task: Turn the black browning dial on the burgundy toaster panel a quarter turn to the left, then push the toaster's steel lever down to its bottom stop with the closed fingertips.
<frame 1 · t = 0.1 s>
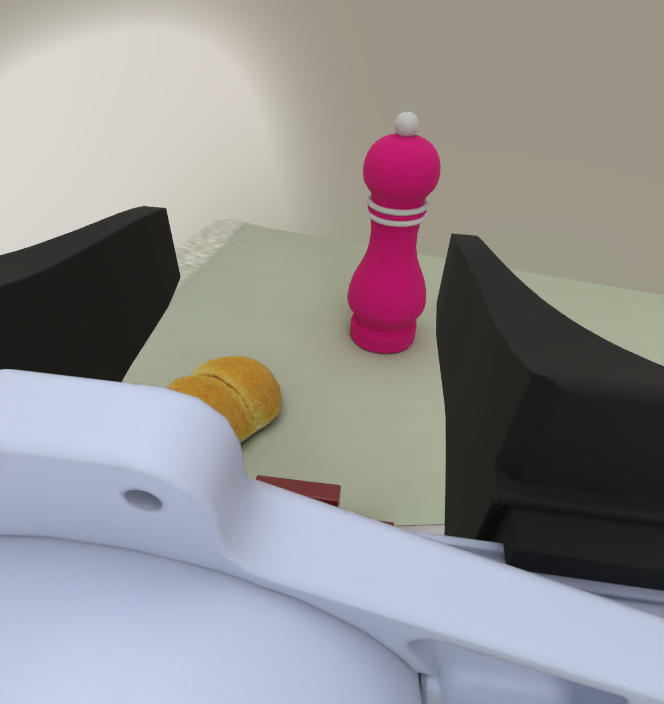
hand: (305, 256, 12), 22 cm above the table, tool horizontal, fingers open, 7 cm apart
bread roll: (223, 416, 38), on the table
pepper mill: (381, 336, 47), on the table
red lever base: (292, 592, 27), on the table
toaster lever: (371, 541, 23), point 6 cm above the table, hinge at 15.0°
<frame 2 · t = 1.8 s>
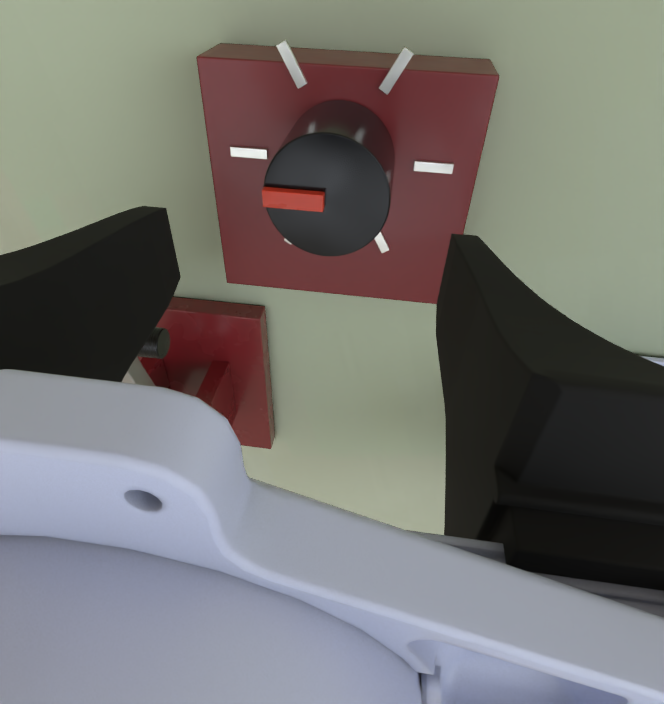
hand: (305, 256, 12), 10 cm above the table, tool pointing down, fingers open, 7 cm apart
toaster panel: (346, 173, 21), on the table
browning dial: (332, 179, 16), point 5 cm above the table, hinge at 0.0°
red lever base: (199, 370, 30), on the table
toaster lever: (143, 396, 23), point 6 cm above the table, hinge at 15.0°
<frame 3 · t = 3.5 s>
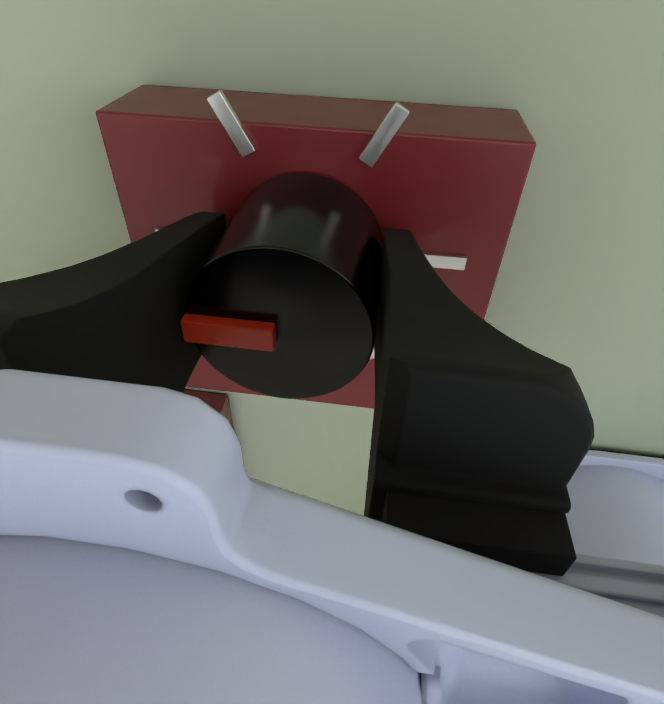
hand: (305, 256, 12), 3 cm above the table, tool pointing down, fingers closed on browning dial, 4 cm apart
toaster panel: (321, 248, 16), on the table
browning dial: (293, 288, 11), point 5 cm above the table, hinge at -0.1°, touching gripper
red lever base: (155, 457, 25), on the table
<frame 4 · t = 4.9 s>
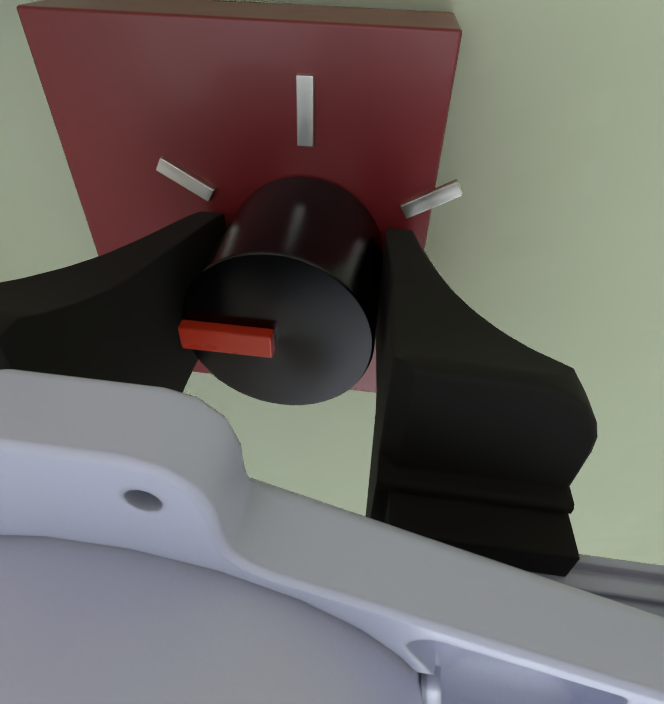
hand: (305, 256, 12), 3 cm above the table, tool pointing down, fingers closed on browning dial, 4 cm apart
toaster panel: (272, 204, 15), on the table
browning dial: (292, 294, 11), point 5 cm above the table, hinge at 89.9°, touching gripper
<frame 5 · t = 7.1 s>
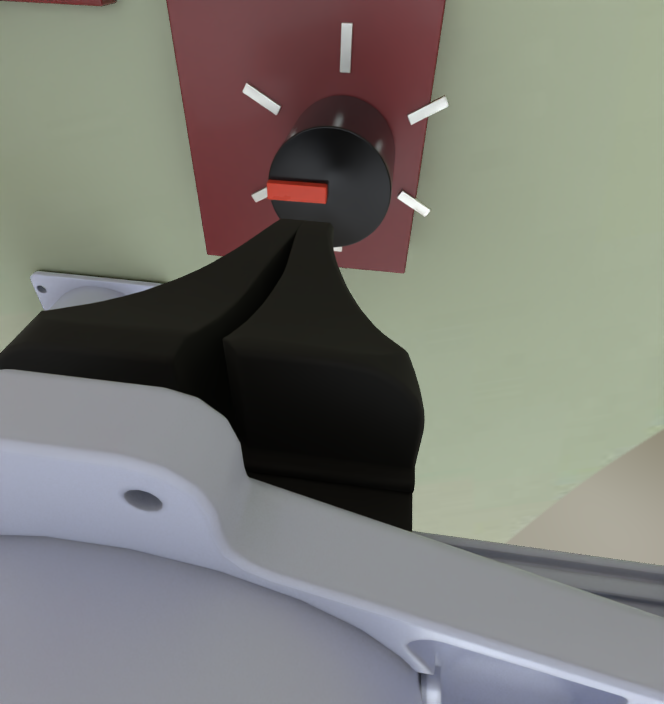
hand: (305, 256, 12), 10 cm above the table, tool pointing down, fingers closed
toaster panel: (313, 129, 20), on the table
browning dial: (335, 172, 17), point 5 cm above the table, hinge at 90.4°
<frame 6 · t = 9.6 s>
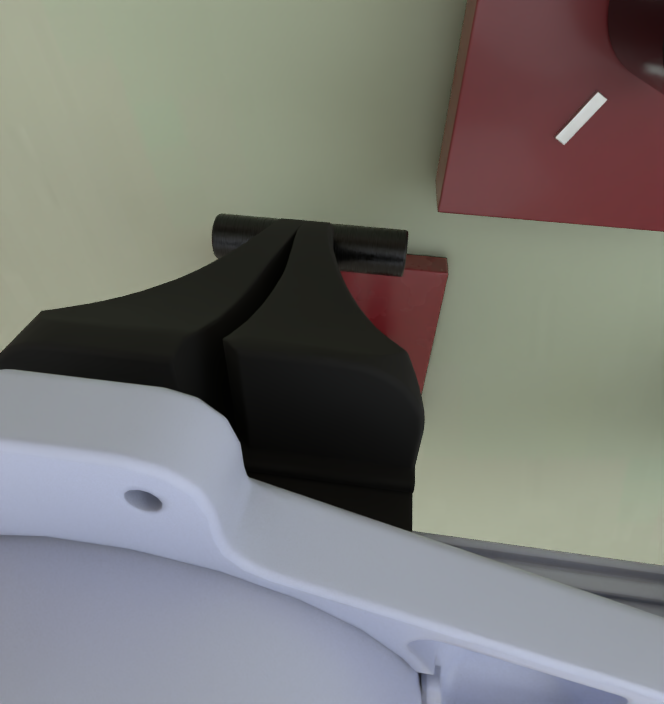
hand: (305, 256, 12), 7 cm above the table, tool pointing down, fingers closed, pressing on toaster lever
toaster panel: (635, 42, 14), on the table
red lever base: (331, 348, 23), on the table
toaster lever: (313, 363, 16), point 6 cm above the table, hinge at 7.4°, touching gripper
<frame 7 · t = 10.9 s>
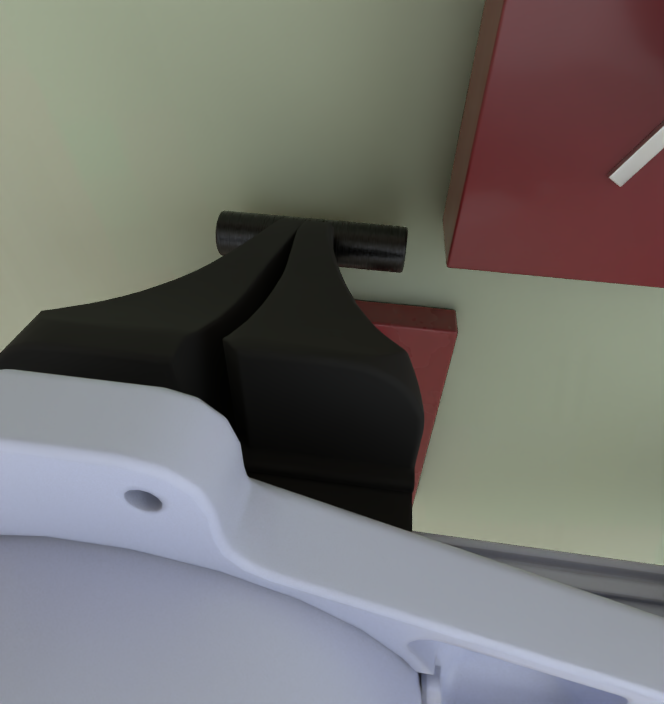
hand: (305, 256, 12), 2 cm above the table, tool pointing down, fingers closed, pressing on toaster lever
red lever base: (317, 406, 20), on the table
toaster lever: (301, 405, 15), point 3 cm above the table, hinge at -22.6°, touching gripper
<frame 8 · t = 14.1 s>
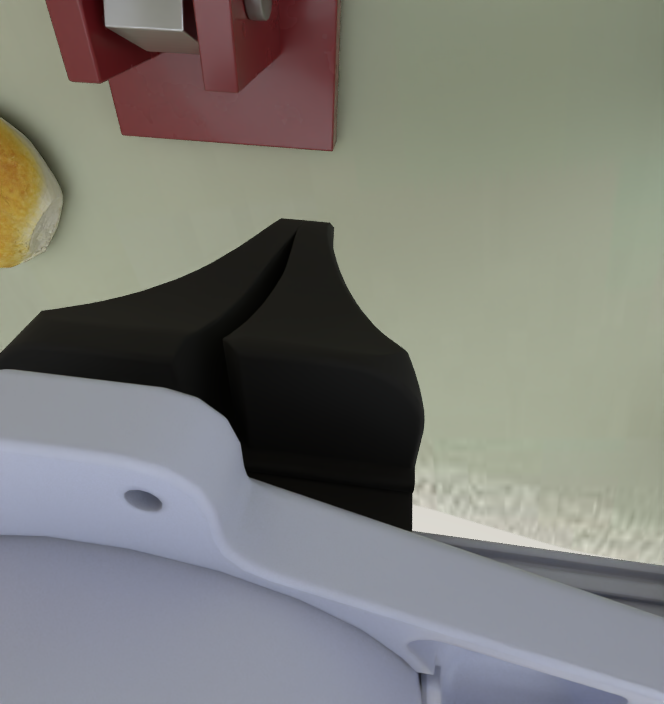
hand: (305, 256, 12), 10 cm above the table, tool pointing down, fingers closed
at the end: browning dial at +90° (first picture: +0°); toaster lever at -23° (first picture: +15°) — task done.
